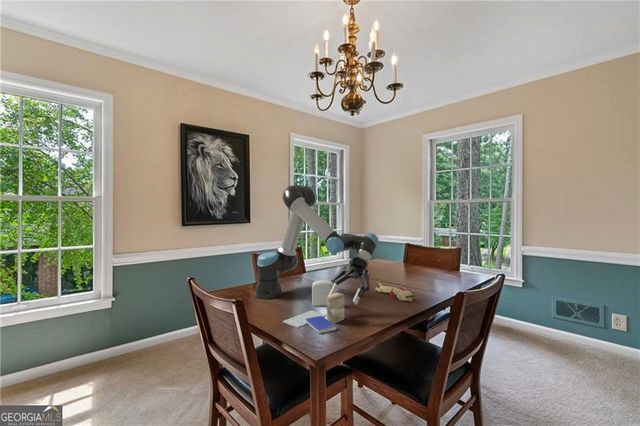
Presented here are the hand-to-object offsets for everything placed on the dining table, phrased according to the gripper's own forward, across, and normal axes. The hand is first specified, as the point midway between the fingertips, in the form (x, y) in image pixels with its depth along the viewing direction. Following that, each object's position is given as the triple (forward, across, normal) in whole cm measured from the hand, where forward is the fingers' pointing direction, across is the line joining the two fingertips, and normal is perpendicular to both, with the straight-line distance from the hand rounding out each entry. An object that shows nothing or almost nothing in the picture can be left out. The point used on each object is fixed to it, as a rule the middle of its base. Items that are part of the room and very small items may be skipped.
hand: (342, 299), depth 134 cm
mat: (+14, +12, +2) cm, 19 cm away
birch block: (+8, +1, -4) cm, 9 cm away
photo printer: (0, +19, -12) cm, 22 cm away
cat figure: (-24, -2, -37) cm, 45 cm away
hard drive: (+15, +2, +3) cm, 15 cm away
